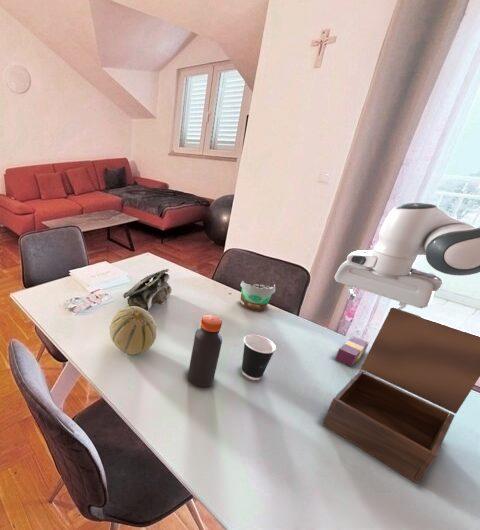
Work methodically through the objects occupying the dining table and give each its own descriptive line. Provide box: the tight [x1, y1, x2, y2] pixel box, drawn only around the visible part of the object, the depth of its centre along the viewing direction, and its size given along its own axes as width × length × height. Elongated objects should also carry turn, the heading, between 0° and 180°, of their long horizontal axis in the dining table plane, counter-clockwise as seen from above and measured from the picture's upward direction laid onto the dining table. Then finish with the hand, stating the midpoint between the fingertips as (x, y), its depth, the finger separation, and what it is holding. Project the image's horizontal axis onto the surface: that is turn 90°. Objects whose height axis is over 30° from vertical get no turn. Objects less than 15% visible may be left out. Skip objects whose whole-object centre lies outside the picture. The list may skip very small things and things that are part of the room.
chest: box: [321, 369, 456, 485], centre depth 71 cm, size 17×17×8 cm
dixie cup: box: [241, 334, 277, 381], centre depth 88 cm, size 8×8×11 cm
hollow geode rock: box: [122, 268, 173, 312], centre depth 124 cm, size 28×13×15 cm
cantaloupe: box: [109, 306, 157, 356], centre depth 98 cm, size 15×15×15 cm
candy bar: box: [335, 336, 370, 367], centre depth 97 cm, size 4×11×4 cm, turn 124°
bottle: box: [187, 314, 223, 388], centre depth 84 cm, size 7×7×20 cm
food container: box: [239, 280, 276, 312], centre depth 121 cm, size 12×6×10 cm, turn 73°
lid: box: [359, 306, 480, 415], centre depth 72 cm, size 17×17×5 cm
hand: (370, 306), depth 90 cm, fingers open, 8 cm apart
